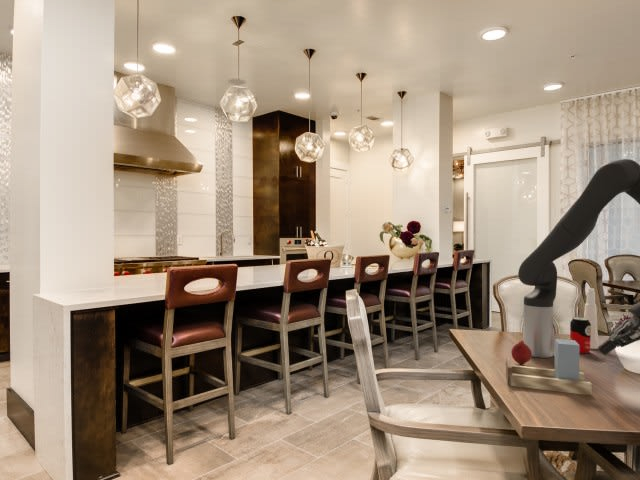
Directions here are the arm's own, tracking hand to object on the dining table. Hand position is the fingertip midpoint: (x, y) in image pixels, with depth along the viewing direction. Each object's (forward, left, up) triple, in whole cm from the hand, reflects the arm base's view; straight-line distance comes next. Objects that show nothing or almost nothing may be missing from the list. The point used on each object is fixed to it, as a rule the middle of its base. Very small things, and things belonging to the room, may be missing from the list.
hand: (600, 351), depth 117 cm
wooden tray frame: (+9, -9, -10) cm, 17 cm away
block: (+6, -6, -9) cm, 12 cm away
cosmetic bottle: (-44, -32, -11) cm, 55 cm away
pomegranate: (0, -25, -11) cm, 27 cm away
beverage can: (-34, -29, -11) cm, 46 cm away
